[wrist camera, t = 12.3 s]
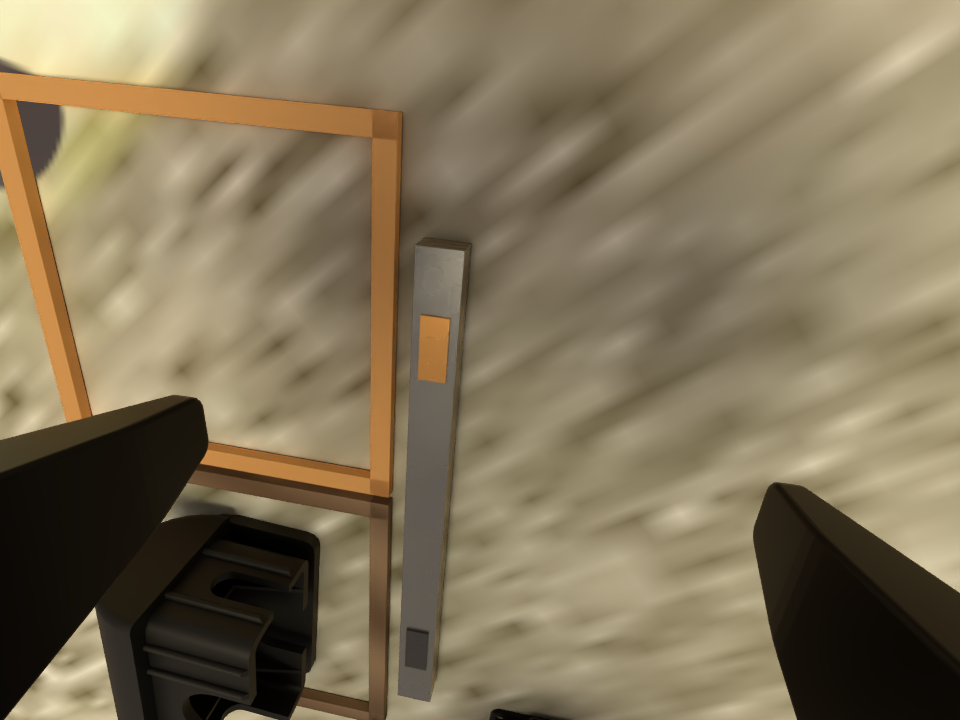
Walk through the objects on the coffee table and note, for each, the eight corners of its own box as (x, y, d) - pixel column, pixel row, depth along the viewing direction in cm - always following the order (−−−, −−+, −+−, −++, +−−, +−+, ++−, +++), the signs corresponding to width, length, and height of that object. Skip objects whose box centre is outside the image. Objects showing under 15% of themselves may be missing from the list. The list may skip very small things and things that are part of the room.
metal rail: (435, 679, 28) (429, 704, 26) (404, 672, 28) (397, 696, 27) (471, 243, 18) (464, 252, 17) (424, 237, 19) (414, 245, 17)
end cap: (176, 489, 25) (48, 607, 19) (321, 525, 25) (237, 658, 19) (191, 637, 30) (90, 771, 24) (316, 670, 29) (245, 817, 23)
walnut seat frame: (386, 716, 29) (383, 725, 29) (137, 659, 31) (131, 667, 31) (392, 497, 23) (388, 505, 23) (82, 441, 25) (73, 447, 25)
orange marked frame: (392, 490, 23) (388, 497, 23) (80, 434, 25) (71, 440, 24) (402, 111, 17) (397, 112, 17) (-12, 70, 19) (-26, 69, 18)
